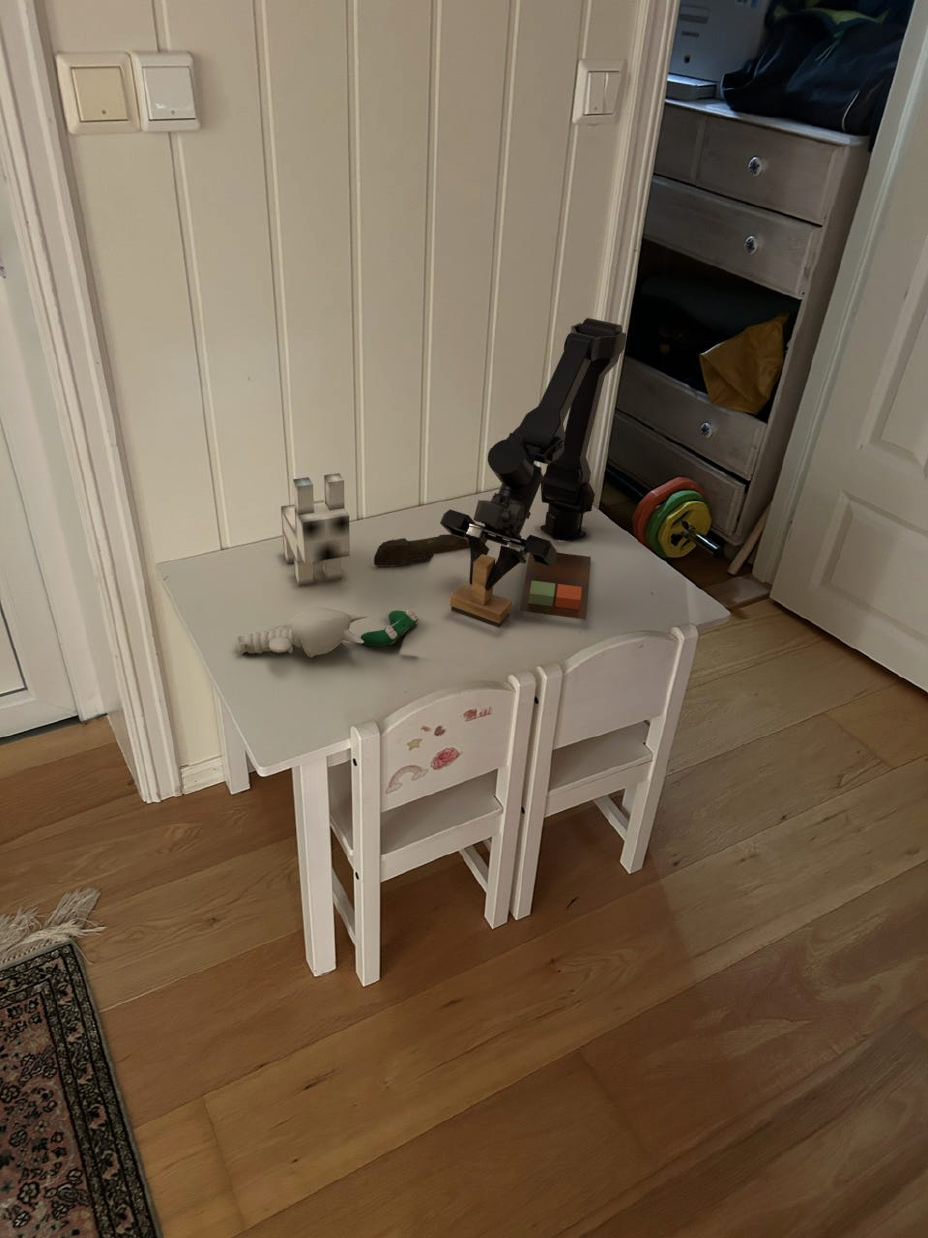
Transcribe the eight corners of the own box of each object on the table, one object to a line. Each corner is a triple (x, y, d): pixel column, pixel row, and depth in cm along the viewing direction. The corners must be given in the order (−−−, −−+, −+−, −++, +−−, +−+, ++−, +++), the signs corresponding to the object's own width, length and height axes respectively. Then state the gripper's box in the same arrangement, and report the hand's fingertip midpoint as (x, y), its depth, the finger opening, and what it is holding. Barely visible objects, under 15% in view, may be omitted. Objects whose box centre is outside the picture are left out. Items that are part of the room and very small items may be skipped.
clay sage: (530, 590, 157) (531, 580, 156) (554, 593, 157) (555, 583, 156) (528, 603, 154) (529, 593, 153) (552, 606, 153) (553, 596, 152)
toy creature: (240, 608, 145) (367, 592, 145) (249, 652, 147) (374, 637, 147) (223, 631, 133) (362, 614, 133) (233, 679, 135) (370, 662, 135)
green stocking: (369, 659, 145) (392, 647, 140) (355, 638, 144) (378, 626, 140) (403, 630, 151) (426, 618, 147) (390, 611, 151) (413, 598, 146)
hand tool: (469, 544, 171) (470, 522, 168) (477, 555, 168) (478, 532, 165) (370, 559, 165) (370, 537, 162) (376, 571, 162) (376, 548, 159)
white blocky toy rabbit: (321, 542, 169) (317, 440, 157) (350, 594, 156) (348, 487, 144) (280, 549, 166) (273, 445, 154) (306, 602, 153) (301, 493, 141)
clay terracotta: (556, 593, 157) (557, 583, 155) (580, 596, 156) (581, 586, 155) (554, 606, 153) (556, 596, 152) (579, 610, 153) (580, 600, 152)
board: (529, 555, 169) (530, 548, 168) (589, 563, 168) (591, 556, 167) (518, 618, 153) (519, 610, 152) (585, 627, 152) (586, 619, 151)
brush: (462, 605, 155) (466, 545, 148) (510, 622, 152) (516, 562, 145) (449, 617, 152) (452, 557, 145) (498, 635, 148) (504, 575, 142)
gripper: (448, 462, 144) (409, 554, 142) (558, 495, 137) (519, 592, 136) (469, 488, 154) (433, 574, 153) (572, 520, 148) (536, 610, 146)
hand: (478, 587), depth 147 cm, fingers closed on brush, 2 cm apart
